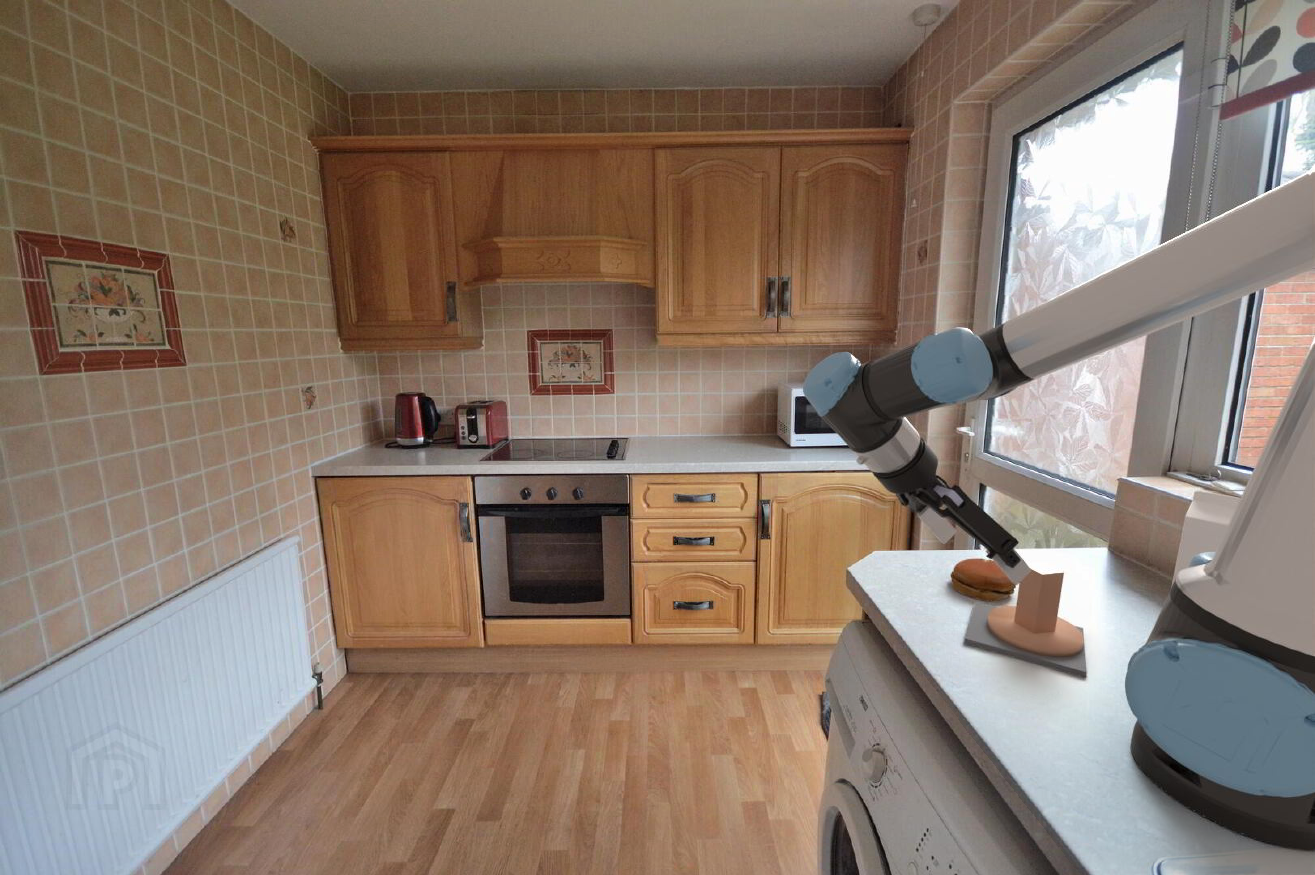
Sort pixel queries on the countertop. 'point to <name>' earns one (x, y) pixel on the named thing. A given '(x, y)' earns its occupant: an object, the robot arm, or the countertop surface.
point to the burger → (981, 580)
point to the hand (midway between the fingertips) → (982, 555)
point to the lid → (1037, 616)
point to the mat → (987, 640)
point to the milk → (1204, 526)
